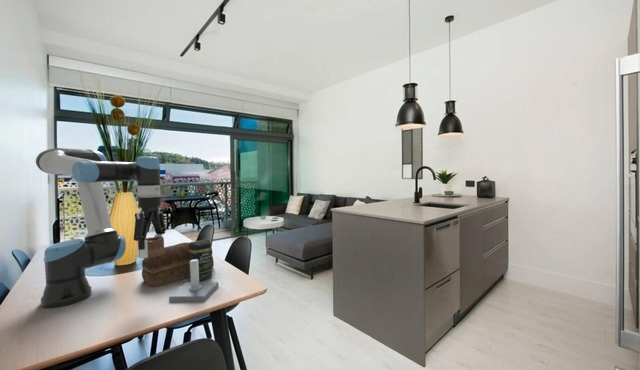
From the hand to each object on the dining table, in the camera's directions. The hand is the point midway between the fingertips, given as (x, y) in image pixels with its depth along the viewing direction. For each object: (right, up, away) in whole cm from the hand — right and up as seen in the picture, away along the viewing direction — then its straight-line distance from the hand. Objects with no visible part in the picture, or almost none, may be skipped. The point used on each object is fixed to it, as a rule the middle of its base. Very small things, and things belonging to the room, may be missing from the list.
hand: (151, 253), depth 105 cm
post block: (+14, -19, +7) cm, 24 cm away
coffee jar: (+9, -18, +24) cm, 31 cm away
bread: (-4, -18, +30) cm, 35 cm away
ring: (0, 0, 0) cm, 0 cm away
